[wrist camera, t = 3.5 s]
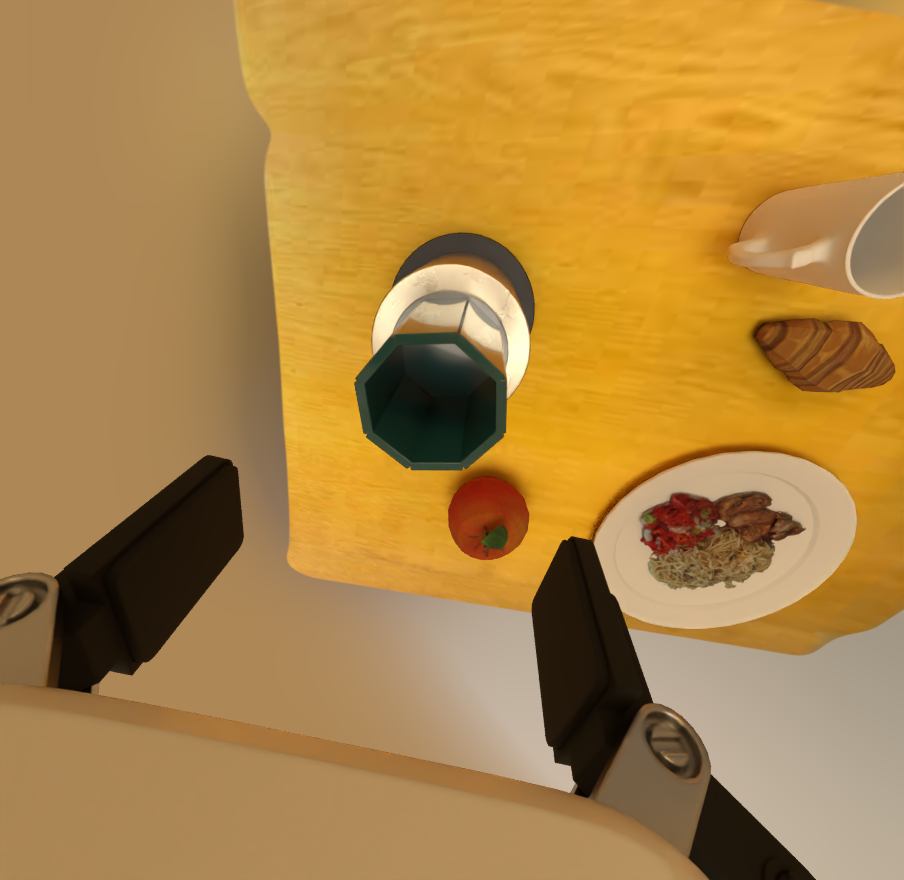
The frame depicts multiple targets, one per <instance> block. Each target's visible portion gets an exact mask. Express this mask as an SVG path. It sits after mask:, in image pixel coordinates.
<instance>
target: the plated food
mask: <svg viewBox="0 0 904 880" xmlns="http://www.w3.org/2000/svg"><path fill="white" fill-rule="evenodd" d="M856 526H857V515H856V509H855V503H854V501H853V499H852V497H851V496H850V494H849V492H848V490H847V488H846V487H845V485H843V484H842V483H841V482H840V481H839V480H838V479H837V478H836V477H835V476H834V475H832V474H831V473H830V472H829V471H828V470H826V469H824V468H822V467H820V466H818V465H816V464H814V463H812V462H810V461H808V460H806V459H803V458H799V457H795V456H791V455H787V454H784V453H778V452H764V451H741V452H728V453H720V454H716V455H711V456H707V457H703V458H698V459H694V460H691V461H688V462H685V463H683V464H680V465H678V466H675V467H672V468H670V469H667V470H665V471H663V472H661V473H659V474H658V475H656V476H654V477H652V478H650V479H649V480H647V481H645V482H643V483H641V484H640V485H639V486H637V487H636V488H635V489H634V490H632V491H631V492H630V493H628V494H627V495H626V496H625V497H623V498H622V499H621V500H620V501H619V502H618V503H617V504H616V505H615V506H614V508H613V509H612V510H611V511H610V512H609V513H608V514H607V515H606V517H605V518H604V520H603V522H602V524H601V525H600V527H599V529H598V530H597V532H596V534H595V538H594V541H593V543H594V545H595V548H596V551H597V554H598V557H599V560H600V563H601V566H602V569H603V572H604V575H605V578H606V581H607V584H608V587H609V590H610V593H611V594H613V595H614V596H615V597H616V599H617V601H618V603H619V606H620V608H621V611H623V612H624V613H626V614H627V615H629V616H632V617H634V618H637V619H639V620H642V621H644V622H647V623H651V624H656V625H660V626H664V627H673V628H683V629H699V628H714V627H722V626H730V625H734V624H738V623H742V622H746V621H751V620H754V619H757V618H760V617H763V616H765V615H768V614H771V613H774V612H776V611H778V610H780V609H782V608H784V607H786V606H788V605H790V604H792V603H794V602H796V601H798V600H800V599H801V598H803V597H804V596H806V595H807V594H809V593H810V592H812V591H813V590H815V589H816V588H817V587H818V586H819V585H821V584H822V583H823V582H824V581H825V580H826V579H827V578H828V577H829V576H831V575H832V574H833V573H834V571H835V570H836V569H837V567H838V566H839V565H840V564H841V562H842V561H843V560H844V558H845V557H846V555H847V553H848V551H849V549H850V547H851V545H852V543H853V541H854V537H855V532H856Z"/></svg>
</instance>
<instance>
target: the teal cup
mask: <svg viewBox="0 0 904 880" xmlns="http://www.w3.org/2000/svg"><path fill="white" fill-rule="evenodd" d="M355 379H356V381H355V382H354V385H355V390H356V396H357V401H358V406H359V412H360V417H361V422H362V428H363V433H364V434H367V436H366V438H368V439H369V440H370V441H372V442H373V443H374V444H375V445H377V446H378V447H379V448H381V449H382V450H383V451H385V452H386V453H387V454H388V455H390V456H391V457H392V458H394V459H395V460H396V461H398V462H399V463H400V464H401V465H403V466H404V467H405V468H409V467H410V468H411V470H463V467H464V468H465V469H467V468H468V467H469V466H470V465H471V464H473V463H474V462H475V461H476V460H477V459H479V458H480V457H481V456H482V455H483V454H484V453H486V452H487V451H488V450H489V449H490V448H491V447H493V446H494V445H495V444H496V443H497V442H498V441H500V440H501V439H502V438H503V437H504V433H506V413H507V375H506V366H505V358H504V350H503V341H502V333H501V331H500V328H499V327H498V326H497V325H496V324H495V323H494V322H493V321H492V320H491V319H490V318H489V317H488V316H487V315H486V314H485V313H484V312H483V311H482V310H481V309H480V308H479V307H478V306H477V305H476V304H475V303H474V302H473V301H472V300H471V299H469V300H468V301H467V298H466V297H464V298H438V299H425V300H424V301H421V302H420V303H419V304H418V305H417V306H416V308H415V309H414V310H413V311H412V312H411V313H410V314H409V315H408V317H407V318H406V319H405V320H404V321H403V322H402V323H401V324H400V325H399V327H398V328H397V329H396V330H395V331H394V332H393V333H392V334H391V335H390V337H389V338H388V339H387V340H386V341H385V343H384V344H383V345H382V346H381V347H380V349H379V350H378V351H377V352H376V354H375V355H374V356H373V357H372V358H371V360H370V361H369V362H368V363H367V365H366V366H365V367H364V368H363V369H362V371H361V372H360V373H359V374H358V375H357V377H356V378H355Z"/></svg>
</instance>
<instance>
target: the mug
mask: <svg viewBox="0 0 904 880" xmlns="http://www.w3.org/2000/svg"><path fill="white" fill-rule="evenodd" d="M727 259H728V260H729V261H730V263H732V264H734V265H738V266H745V267H747V268H748V269H749V270H751V271H753V272H756V273H760V274H764V275H769V276H773V277H777V278H782V279H787V280H791V281H796V282H801V283H805V284H810V285H814V286H819V287H823V288H828V289H832V290H837V291H841V292H846V293H851V294H857V295H862V296H867V297H870V298H876V299H891V298H897V297H902V296H904V172H900V173H894V174H888V175H881V176H875V177H869V178H862V179H856V180H850V181H843V182H837V183H830V184H823V185H817V186H810V187H804V188H799V189H793V190H788V191H784V192H781V193H779V194H776V195H774V196H772V197H771V198H769V199H767V200H766V201H765V202H763V203H762V204H761V205H760V206H758V207H757V208H756V209H755V210H754V211H753V213H752V214H751V215H750V216H749V218H748V219H747V221H746V222H745V224H744V226H743V228H742V230H741V233H740V236H739V241H738V243H734V244H732V245H730V246H729V247H728V251H727Z"/></svg>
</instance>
